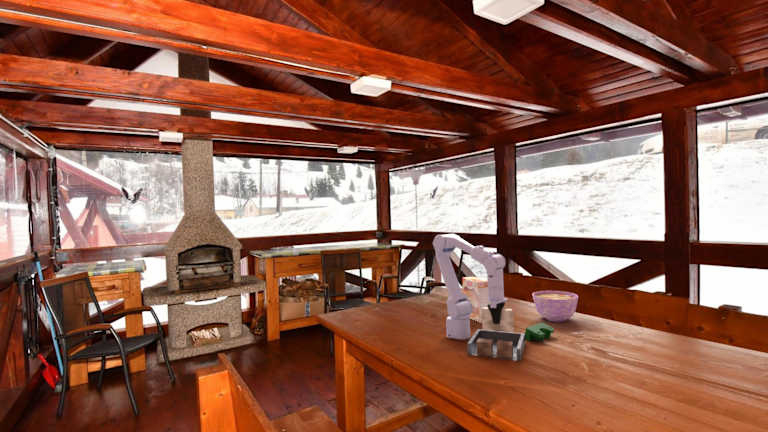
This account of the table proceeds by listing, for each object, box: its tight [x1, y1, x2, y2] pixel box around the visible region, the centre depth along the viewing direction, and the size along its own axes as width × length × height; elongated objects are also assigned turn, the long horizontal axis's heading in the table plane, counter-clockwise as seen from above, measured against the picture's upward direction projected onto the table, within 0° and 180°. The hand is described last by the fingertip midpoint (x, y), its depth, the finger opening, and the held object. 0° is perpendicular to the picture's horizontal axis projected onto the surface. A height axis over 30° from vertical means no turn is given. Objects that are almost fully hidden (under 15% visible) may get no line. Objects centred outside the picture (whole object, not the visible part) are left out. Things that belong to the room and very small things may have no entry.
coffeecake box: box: [461, 276, 490, 324], centre depth 184 cm, size 15×7×20 cm, turn 17°
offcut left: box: [477, 338, 493, 356], centre depth 135 cm, size 5×4×4 cm
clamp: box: [524, 322, 555, 343], centre depth 149 cm, size 12×6×9 cm, turn 121°
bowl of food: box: [531, 290, 579, 323], centre depth 177 cm, size 20×20×12 cm
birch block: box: [481, 307, 515, 332], centre depth 141 cm, size 11×2×8 cm, turn 64°
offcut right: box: [497, 340, 513, 358], centre depth 132 cm, size 5×4×4 cm
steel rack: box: [467, 328, 526, 362], centre depth 139 cm, size 18×18×5 cm
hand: (497, 322), depth 141 cm, fingers closed on birch block, 2 cm apart
